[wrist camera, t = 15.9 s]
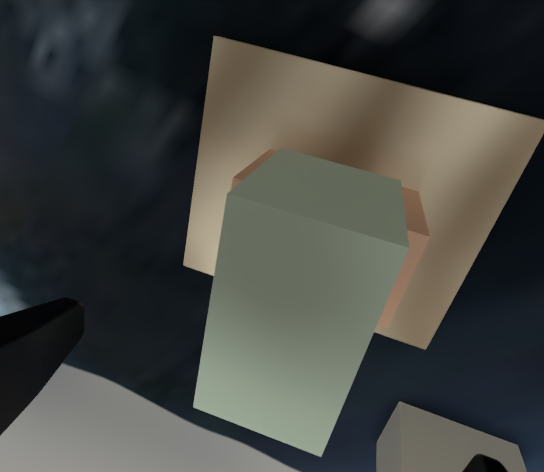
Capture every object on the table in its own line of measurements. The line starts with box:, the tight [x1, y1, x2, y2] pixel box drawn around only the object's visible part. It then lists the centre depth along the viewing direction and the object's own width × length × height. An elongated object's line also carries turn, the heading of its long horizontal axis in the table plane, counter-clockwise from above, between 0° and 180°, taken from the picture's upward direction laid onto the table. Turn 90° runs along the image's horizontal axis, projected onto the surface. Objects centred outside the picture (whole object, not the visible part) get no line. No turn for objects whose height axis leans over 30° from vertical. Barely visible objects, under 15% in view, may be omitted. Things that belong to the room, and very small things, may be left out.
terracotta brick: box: [231, 149, 430, 328], centre depth 16 cm, size 7×4×5 cm, turn 78°
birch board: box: [183, 36, 544, 350], centre depth 19 cm, size 14×12×1 cm
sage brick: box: [193, 148, 409, 457], centre depth 12 cm, size 7×4×5 cm, turn 169°
